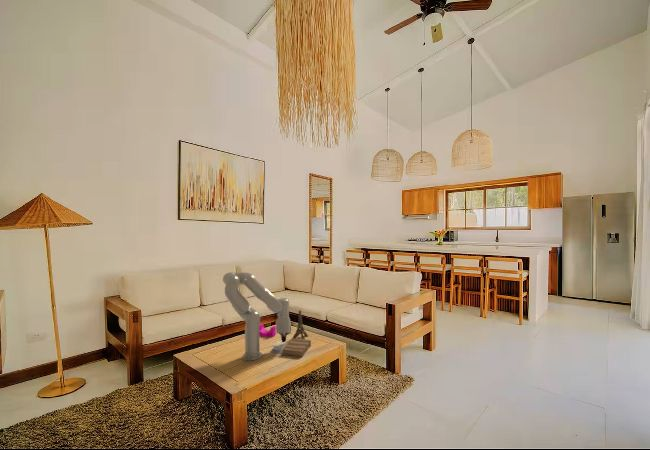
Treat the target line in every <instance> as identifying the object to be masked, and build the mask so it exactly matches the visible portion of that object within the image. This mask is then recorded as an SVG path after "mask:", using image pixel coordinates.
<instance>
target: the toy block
mask: <svg viewBox="0 0 650 450" xmlns="http://www.w3.org/2000/svg"><path fill="white" fill-rule="evenodd" d="M276 333H277V332H276V325H272V326H271V327H270V330H267V329H266V328H265V327H264V324H263V323H260V325H259V337H262V336H263V337H264V338H268V337H271V338H274V337H276V336H275V335H277V334H276Z"/></svg>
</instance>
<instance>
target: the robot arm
mask: <svg viewBox="0 0 650 450" xmlns="http://www.w3.org/2000/svg"><path fill="white" fill-rule="evenodd" d="M222 282H223V283H224V284H225V286H224V295H225V297H226V299H227V300H228V301H229V303H230V304H231V307H232V308H233V309H234V311H235V312H236V313H237V314H238V315H239V317H240V318H241V319H242V320H244V322H245V326H244V349H245V352H244V353H243V354H242V360H245V361H255V360H258V359H259V360H260V359H261V358H262V357H263V353H262V352H261V351H260V350H261V348H260V347H261V346H260V344H261V343H260V341H261V340H260V336H259V325H260V324H261V315H260V313H259V312H258V311H257V310H256V309H255V308H253V307H252V306H251V304H250V302H249V300H248V299H246V298H245V296H244V295H243V294H242V292H240V290H239V286H240V285H242V286H245V287H246V288H247V289H248V290H249V291H250V293H252V294H253V295H254V296H255V297H256V298H257V299H258V300H260V301H262V302H263V303H264V304H265V305H266V307H267V309H268V310H270V311H271V312H272V313H275V314H276V316H277V318H276V322H275V323H276V324H275V326H276V333H277V334H279V335H280V337H281V340H280V341H282V342H285V341H286V342H287V335H291V334H292V323H291V321H292V320H291V318H290V301H289V299H288V298H287V297H286V298H282V297H281V298H276V297H275V295H274V294H273V293H272V292H270V290H269V289H267V287H266V286H264V285H263V283H261V282H260V280H258V278H257V277H256V276H255V275H254V274H252V273H249V272H233V271H232V272H227V273H225V274H224V275H223V277H222Z"/></svg>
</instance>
